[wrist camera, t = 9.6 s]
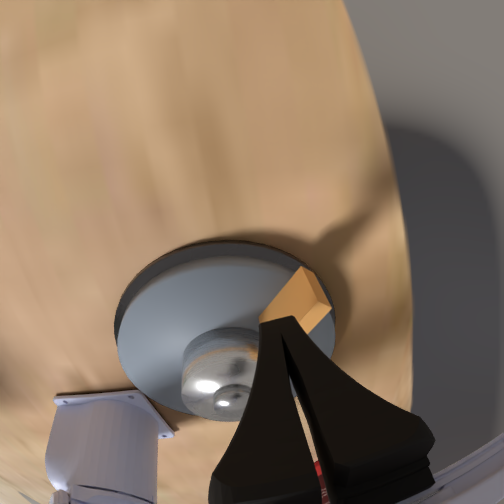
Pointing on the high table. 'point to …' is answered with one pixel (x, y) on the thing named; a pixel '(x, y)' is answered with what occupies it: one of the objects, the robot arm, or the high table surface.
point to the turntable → (212, 315)
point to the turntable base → (203, 252)
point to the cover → (219, 372)
